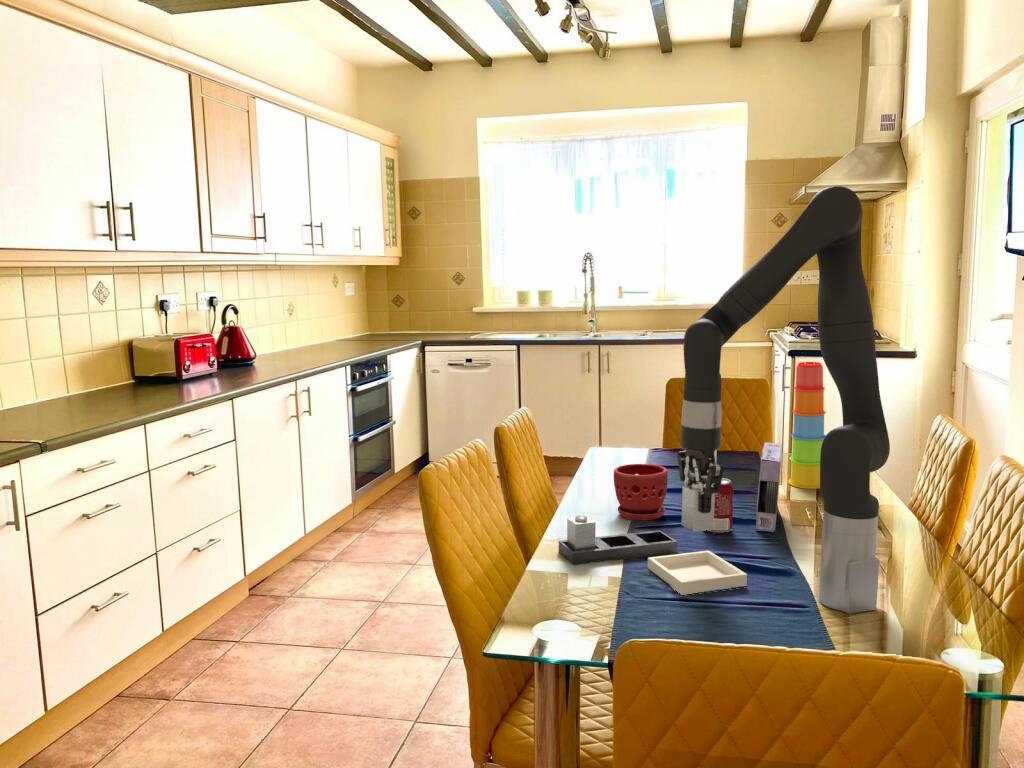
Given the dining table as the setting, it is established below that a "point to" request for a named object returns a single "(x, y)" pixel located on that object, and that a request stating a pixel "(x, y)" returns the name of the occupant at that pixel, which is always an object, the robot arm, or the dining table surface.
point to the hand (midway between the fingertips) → (698, 508)
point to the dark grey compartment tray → (621, 547)
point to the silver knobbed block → (695, 510)
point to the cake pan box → (768, 486)
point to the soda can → (723, 507)
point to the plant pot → (640, 490)
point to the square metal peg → (580, 533)
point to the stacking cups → (808, 426)
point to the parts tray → (696, 572)
